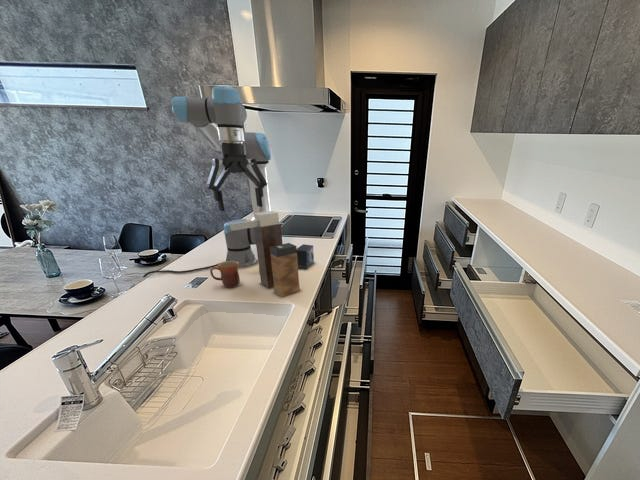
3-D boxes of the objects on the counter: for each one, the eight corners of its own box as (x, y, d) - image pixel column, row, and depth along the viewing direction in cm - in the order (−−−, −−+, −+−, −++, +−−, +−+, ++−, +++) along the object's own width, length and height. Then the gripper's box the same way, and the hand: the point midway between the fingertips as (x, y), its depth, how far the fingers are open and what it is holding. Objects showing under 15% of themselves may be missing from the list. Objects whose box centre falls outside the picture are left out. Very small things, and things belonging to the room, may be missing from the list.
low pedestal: (281, 297, 129) (277, 257, 122) (274, 292, 133) (270, 253, 126) (299, 290, 135) (296, 252, 128) (292, 286, 139) (289, 249, 132)
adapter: (277, 257, 122) (276, 249, 121) (270, 253, 126) (269, 246, 125) (296, 252, 128) (296, 245, 127) (289, 249, 132) (288, 242, 131)
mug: (240, 280, 144) (237, 259, 140) (243, 287, 137) (239, 266, 133) (213, 284, 139) (208, 263, 135) (213, 291, 132) (209, 270, 128)
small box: (307, 269, 158) (306, 250, 154) (295, 268, 159) (294, 249, 155) (314, 263, 168) (313, 244, 164) (303, 261, 169) (302, 243, 165)
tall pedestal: (268, 288, 137) (261, 227, 126) (261, 283, 141) (253, 224, 130) (286, 283, 143) (280, 224, 131) (278, 278, 147) (272, 221, 136)
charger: (234, 231, 119) (232, 218, 117) (229, 228, 122) (227, 216, 120) (279, 224, 132) (278, 212, 130) (273, 222, 135) (272, 210, 133)
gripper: (194, 141, 88) (208, 214, 96) (273, 143, 104) (278, 206, 113) (186, 141, 93) (200, 210, 101) (262, 143, 109) (268, 203, 117)
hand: (241, 208), depth 107 cm, fingers open, 13 cm apart
